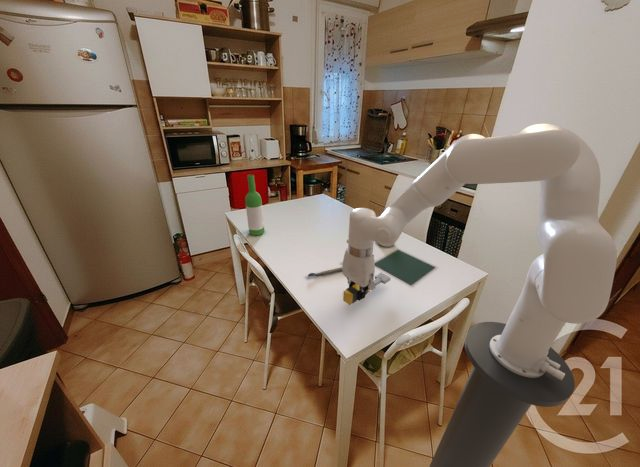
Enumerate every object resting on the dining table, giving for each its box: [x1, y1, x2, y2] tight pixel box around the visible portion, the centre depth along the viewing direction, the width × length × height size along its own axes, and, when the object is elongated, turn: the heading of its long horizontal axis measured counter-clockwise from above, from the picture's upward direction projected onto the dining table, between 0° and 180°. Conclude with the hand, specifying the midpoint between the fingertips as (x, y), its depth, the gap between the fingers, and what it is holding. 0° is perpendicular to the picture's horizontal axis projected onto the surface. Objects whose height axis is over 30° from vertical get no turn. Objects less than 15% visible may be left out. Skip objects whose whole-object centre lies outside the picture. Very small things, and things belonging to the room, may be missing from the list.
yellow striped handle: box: [342, 272, 392, 306], centre depth 90 cm, size 4×21×4 cm, turn 131°
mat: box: [375, 249, 435, 286], centre depth 111 cm, size 18×18×1 cm
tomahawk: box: [307, 267, 342, 277], centre depth 107 cm, size 21×7×1 cm, turn 110°
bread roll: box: [377, 243, 395, 248], centre depth 127 cm, size 8×9×4 cm
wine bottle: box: [244, 174, 265, 236], centre depth 128 cm, size 8×8×30 cm
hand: (356, 295), depth 88 cm, fingers closed on yellow striped handle, 3 cm apart
